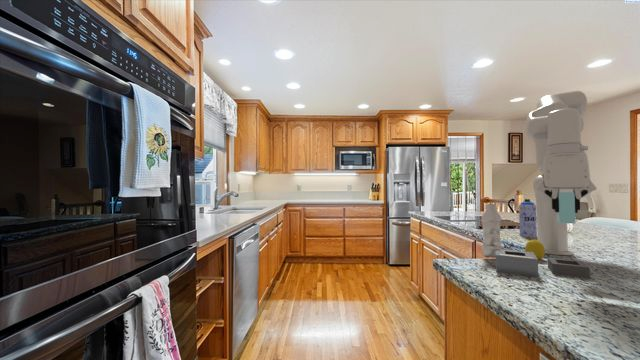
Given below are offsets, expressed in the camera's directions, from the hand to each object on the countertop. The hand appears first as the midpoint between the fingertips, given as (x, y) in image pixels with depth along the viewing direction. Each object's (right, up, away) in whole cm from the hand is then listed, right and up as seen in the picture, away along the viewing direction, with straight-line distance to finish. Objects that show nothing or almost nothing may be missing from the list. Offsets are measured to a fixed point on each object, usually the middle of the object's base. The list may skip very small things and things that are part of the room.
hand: (565, 211), depth 83 cm
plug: (0, -3, 0) cm, 3 cm away
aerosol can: (+40, -21, +68) cm, 81 cm away
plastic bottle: (-9, -20, +20) cm, 30 cm away
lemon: (+3, -20, +15) cm, 25 cm away
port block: (-14, -19, +2) cm, 24 cm away
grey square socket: (0, -19, -1) cm, 19 cm away
